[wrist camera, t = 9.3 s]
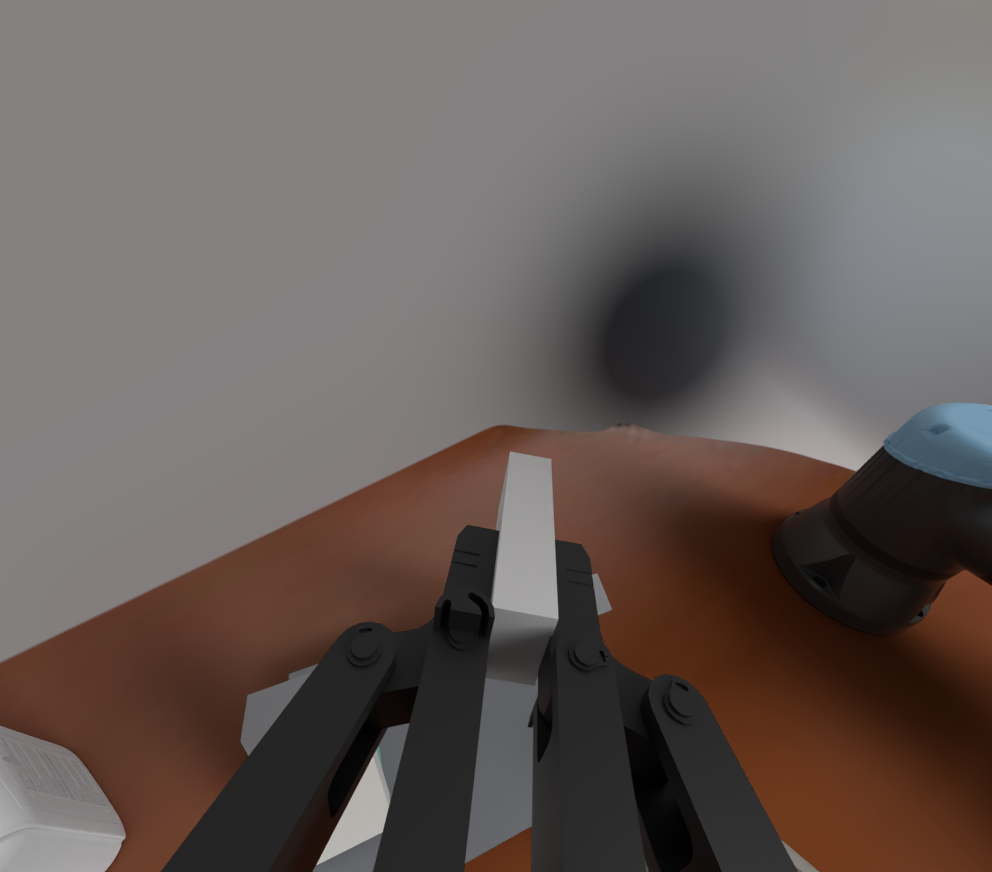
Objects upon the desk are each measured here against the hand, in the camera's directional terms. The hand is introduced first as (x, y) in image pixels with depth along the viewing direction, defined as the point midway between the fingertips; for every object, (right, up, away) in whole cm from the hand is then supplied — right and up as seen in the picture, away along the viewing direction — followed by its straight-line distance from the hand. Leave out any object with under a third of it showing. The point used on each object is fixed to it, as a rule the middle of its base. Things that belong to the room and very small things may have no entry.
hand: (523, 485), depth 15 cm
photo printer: (-32, -26, +14) cm, 44 cm away
